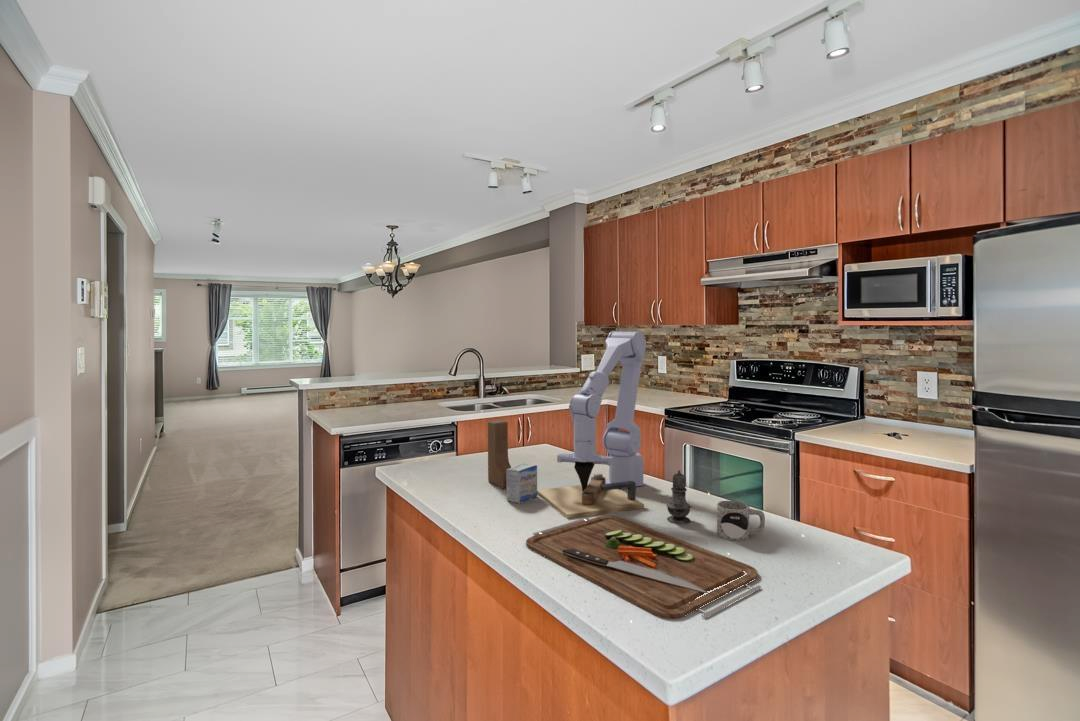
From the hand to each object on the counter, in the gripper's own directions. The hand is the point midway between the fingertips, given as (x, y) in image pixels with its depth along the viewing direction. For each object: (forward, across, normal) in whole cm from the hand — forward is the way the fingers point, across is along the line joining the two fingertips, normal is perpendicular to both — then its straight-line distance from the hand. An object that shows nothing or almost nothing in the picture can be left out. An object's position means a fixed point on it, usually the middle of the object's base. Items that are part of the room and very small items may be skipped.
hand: (584, 490), depth 149 cm
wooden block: (+2, -26, +8) cm, 27 cm away
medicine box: (+2, -16, -4) cm, 17 cm away
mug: (+2, +38, -17) cm, 41 cm away
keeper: (+2, +10, -3) cm, 11 cm away
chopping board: (+3, +16, -35) cm, 39 cm away
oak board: (+2, +1, -2) cm, 3 cm away
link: (+1, +2, +1) cm, 3 cm away
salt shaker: (+2, +24, -11) cm, 27 cm away
